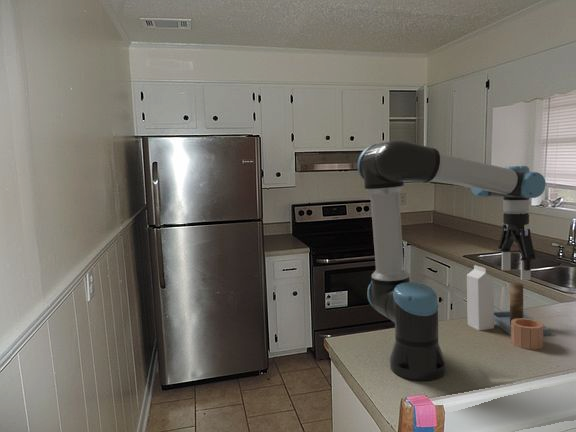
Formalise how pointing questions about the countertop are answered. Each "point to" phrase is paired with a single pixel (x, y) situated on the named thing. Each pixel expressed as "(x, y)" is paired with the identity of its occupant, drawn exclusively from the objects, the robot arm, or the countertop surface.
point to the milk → (480, 299)
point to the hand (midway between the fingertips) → (515, 274)
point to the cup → (527, 333)
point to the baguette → (516, 301)
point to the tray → (504, 321)
